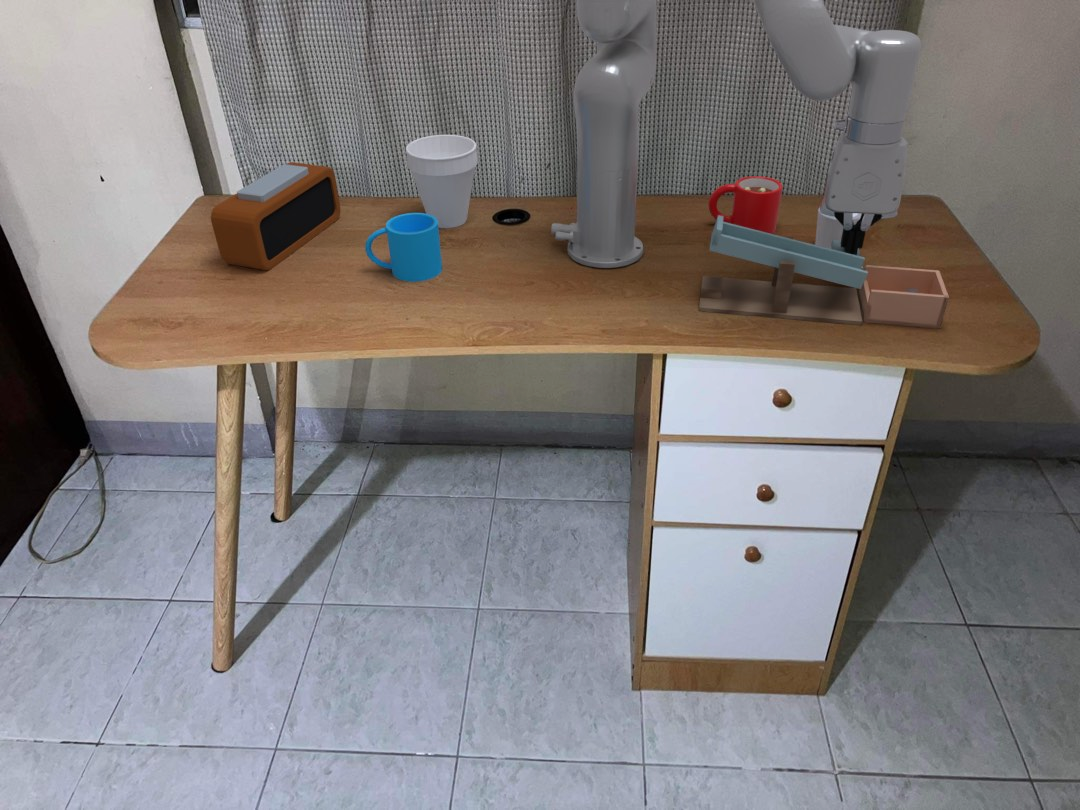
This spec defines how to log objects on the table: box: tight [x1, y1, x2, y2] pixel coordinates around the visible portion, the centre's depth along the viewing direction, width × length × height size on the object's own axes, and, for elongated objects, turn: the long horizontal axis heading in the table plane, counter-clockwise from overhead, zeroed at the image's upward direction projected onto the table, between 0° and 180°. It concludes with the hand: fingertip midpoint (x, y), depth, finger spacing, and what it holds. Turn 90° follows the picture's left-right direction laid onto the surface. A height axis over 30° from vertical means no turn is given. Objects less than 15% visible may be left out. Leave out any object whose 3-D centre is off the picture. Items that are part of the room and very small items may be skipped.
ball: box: [904, 289, 920, 293], centre depth 120 cm, size 3×3×3 cm
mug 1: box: [364, 212, 443, 283], centre depth 133 cm, size 12×8×8 cm
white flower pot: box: [405, 134, 479, 229], centre depth 147 cm, size 12×12×14 cm
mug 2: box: [708, 175, 783, 234], centre depth 144 cm, size 8×12×8 cm, turn 82°
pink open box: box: [858, 264, 950, 330], centre depth 120 cm, size 10×8×5 cm
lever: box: [709, 215, 868, 290], centre depth 122 cm, size 22×13×4 cm, turn 78°
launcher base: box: [698, 236, 863, 326], centre depth 122 cm, size 23×10×8 cm, turn 78°
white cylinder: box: [814, 206, 861, 249], centre depth 136 cm, size 7×7×7 cm
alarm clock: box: [210, 161, 341, 271], centre depth 142 cm, size 24×8×11 cm, turn 159°
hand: (850, 251), depth 125 cm, fingers closed
